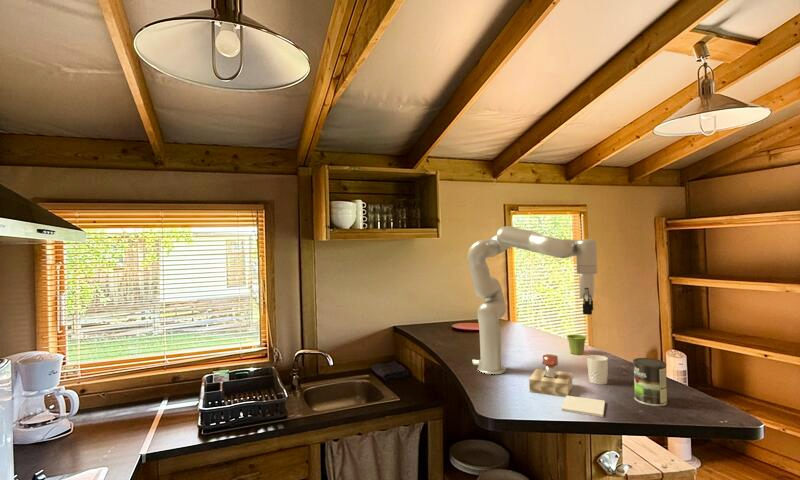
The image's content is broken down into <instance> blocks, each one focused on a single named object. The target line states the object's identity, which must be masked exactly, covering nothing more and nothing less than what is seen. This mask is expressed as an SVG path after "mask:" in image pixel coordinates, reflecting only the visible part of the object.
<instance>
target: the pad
mask: <svg viewBox="0 0 800 480" xmlns="http://www.w3.org/2000/svg"><path fill="white" fill-rule="evenodd" d="M605 404H606V400H603V399H602V400H601V399H596V398H595V399H594V398H587V397H581V396H572V395H569V396H567V395H566V397H564V401H563V404H562V406H561V407H560V408H561V411H562V412H569V413H575V414H580V415H582V414H583V415H588V416H593V417H601V418H604V413H605V406H606V405H605Z"/></svg>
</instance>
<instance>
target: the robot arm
mask: <svg viewBox="0 0 800 480" xmlns="http://www.w3.org/2000/svg"><path fill="white" fill-rule="evenodd" d="M510 248H517V249H521V250H525V251H529V252H533V253H538V254H542V255H544V256H550V257H555V258H559V259H568V258H572V257H576V274H578V275H579V280H578V281H579V299H583V300H582V314H583V315H592V314H593V310H594V300H593V298H594V297H595V296H594V294H595V275H597V274H598V260H597V259H598V257H597V253H598V252H597V241H596V240H595V239H591V238H589V239H586V238H585V239H569V238H568V239H566V238H565V239H561V238H556V237H551V236H546V235H543V234H541V233H538V232H536V231H533V230H528V229H522V228H517V227H515V226H509V225H508V226H506V225H505V226H501V227H500V228H499V229H498V230H497V232H496V235H494V236H492V237H490V238H489V239H486V238H484V239H480V240H477V241H475V242H474V243H473V244H472V245H471V246H470V247H469V249H468V252H467V254H466V257H467V258H466V259H467V264H468V268H469V272H470V278H471V281H472V285H473V290H474V293H475V295H476V297H478V298H479V299H482V300H484V302H483V303H481V304H480V305H479V307H478V309H477V313H476V315H477V321H478V328H479V329H478V330H479V349H480V350H479V351H480V359H476V358H475V359H474V358H472V360H471V361H472V362H471V363H472V365H474V366H477V371H478V370H479V371H480V372H479V371H478V372H479V373H481V372H482V373H481V374H484V373H485V374H484V375H491V374H493V375H494V374H495V375H502V374H504V373H506V370H507V368H506V367H505V366H504V365H503V359H502V358H503V357H502V356H503V354H502V353H503V352H502V334H501V333H502V331H501V325H500V320H499V319H501V318H503V317H505V314H506V312H507V307H506V301H505V298H504V297H505V296H504V293H503V289H502V286H501V283H500V281H499V280H498V279H497V278H496V277H494V276H491V272H490V271H489V270H490V268H489V266H488V264H487V261H486V259H488V258H493V257H496V256H498V255H500V254H502V253H504V252H505V251H506V250H509V249H510Z"/></svg>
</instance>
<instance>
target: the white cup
mask: <svg viewBox="0 0 800 480" xmlns="http://www.w3.org/2000/svg"><path fill="white" fill-rule="evenodd" d="M586 364H587V365H586V366H587V374H588V381H589V383H591V384H594V385H600V386H601V385H602V386H603V385H606V384H608V372H609V369H608V368H609V357H607V356H604V355H599V354H590V355H587V356H586Z"/></svg>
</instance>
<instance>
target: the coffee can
mask: <svg viewBox="0 0 800 480" xmlns="http://www.w3.org/2000/svg"><path fill="white" fill-rule="evenodd" d="M632 363H633V381H634V382H633V385H634V389H633V390H634V391H633V393H634V401H635V402H637V403H639V404H643V405H645V406H651V407H652V406H653V407H664V406H666V405H667V404H668V396H667V395H668V393H667V362H665V361H663V360H660V359H655V358H651V357H650V358H649V357H638V358H634V359H632Z"/></svg>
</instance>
